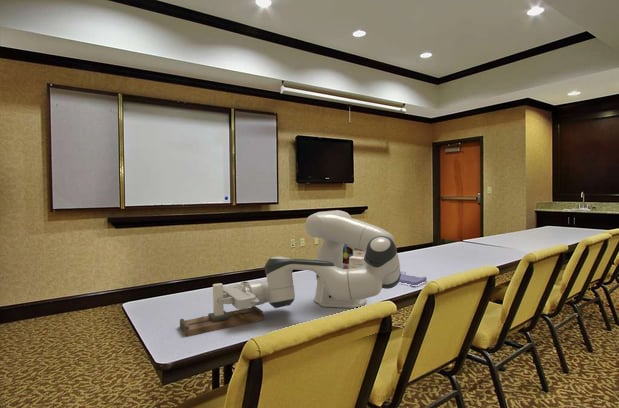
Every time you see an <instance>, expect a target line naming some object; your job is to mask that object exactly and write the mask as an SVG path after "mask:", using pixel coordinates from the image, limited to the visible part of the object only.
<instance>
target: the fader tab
mask: <svg viewBox="0 0 619 408" xmlns="http://www.w3.org/2000/svg"><path fill="white" fill-rule="evenodd" d="M223 287H224V284H223V283H221V282H220V283H214V284H212V302H213V305H212V306H213V307H212V308H213V312H210V313H207V316H208V317H209V318H210V319H211V320H212V321H213V322H215V321H220V320H225V319H229V314H227V313H226V312H227V311H225V310H224V308H225V307H224V305H225V304H218V301H217V300H218V299H219V298H223Z"/></svg>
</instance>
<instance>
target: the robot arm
mask: <svg viewBox="0 0 619 408" xmlns="http://www.w3.org/2000/svg"><path fill="white" fill-rule="evenodd" d="M304 223H305V225H304V227H305V231H306V233H307V234H308V235H309V236H310V237H312V238H315V239H322V242H321V244H320V245H319V247H318V249H317V251H316V252H317V253H316V256H317V257H316V259H309V258H307V259H304V258H290V257H286V256H282V255H281V256H272V257H271V258H270V257H269V258H268V260H267V261H266V263H265V265H264V266H263V267H264V272H265V276H266V280H265V281H261V280H259V281H258V280H257V281H241V282H240V283H237V284H230V285H227V286H223V298H219V299H218V300H217V301H218V304H223V305H232V306H233V307H235V309H237V310H241V309H246V308H251V307H253V306H256V307H257V306H259V305H264V304H266V303H268V304H269V305H270V306H271V307H273V308H274V309H278V308H279V309H280V308H283V307H288V306H291V305H292V303H293V302H294V301H295V298H296V296H295V294H296V293H295V286H294V277H293V270H298V271H300V270H301V271H310V272H313V273H315V277H316V289H315V295H314V299H313V301H314V302H315V303H316V304H318V305H319V306H321V307H325V308H326V307H327V308H341V309H343V308H344V309H345V308H346V309H357V308H356V307H359V308H361V307H360V306H362V307H363V306H365V304H366V303H367V299H369V298H372V297H375V296H377V295H379V294H380V293H381V291H382V289H385V290H389V289H392V288H395V287H396V286H398V285H399V284H398V283H399V281H400V277H401V262H400V259H399V255H398V248H397V245H396V244H395V237H394V236H393V234H392V233H391V232H389V231H387V230H385V229H383V228H381V227H379V226H378V225H377V226H376V225H374V224H372V223H368V222H366V221H362V220H359V219H357V218H352V216H351V215H350V214H349V213H348V212H346V211H343V210H338V209H336V210H327V211H318V212H315V213H313V214H311V215H309V216H308V217H307V218H306V220H305V222H304ZM344 244H347V245H350V246H352V247H355V248H357V249H360V250H363V251H364V252H366V254H365V256H364V260H365V262H366V264H365V265H364V266H363V267H360V268H353V269H344V268H343V247H344Z"/></svg>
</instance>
